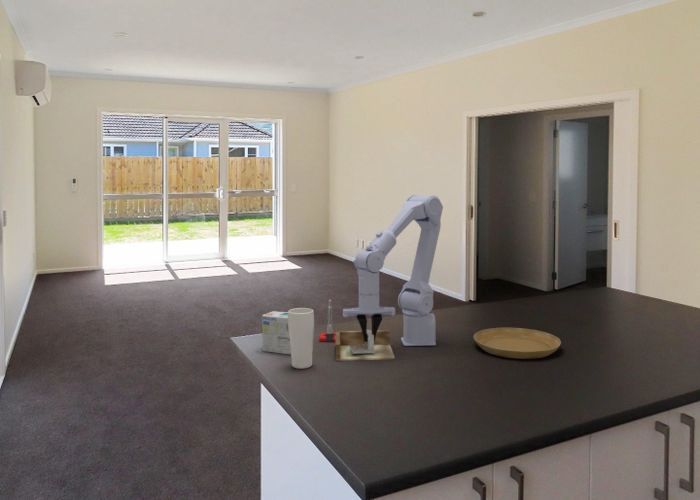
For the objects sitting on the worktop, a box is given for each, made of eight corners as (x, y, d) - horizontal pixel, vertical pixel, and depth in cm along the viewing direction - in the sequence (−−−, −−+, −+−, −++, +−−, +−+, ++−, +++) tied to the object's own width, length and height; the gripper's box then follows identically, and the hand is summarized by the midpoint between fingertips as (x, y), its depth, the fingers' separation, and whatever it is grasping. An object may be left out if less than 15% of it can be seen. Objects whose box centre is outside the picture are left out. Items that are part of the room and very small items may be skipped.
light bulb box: (305, 349, 167) (305, 313, 166) (294, 355, 161) (293, 318, 160) (274, 345, 172) (273, 310, 170) (262, 351, 165) (260, 314, 164)
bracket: (374, 352, 159) (373, 335, 158) (352, 353, 158) (352, 336, 157) (370, 346, 165) (370, 329, 165) (349, 347, 165) (349, 330, 164)
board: (389, 345, 170) (389, 343, 170) (394, 359, 156) (394, 357, 156) (335, 346, 170) (335, 344, 170) (336, 360, 156) (336, 358, 156)
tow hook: (322, 335, 184) (315, 341, 175) (321, 295, 183) (315, 300, 174) (347, 336, 183) (343, 343, 173) (347, 296, 182) (343, 300, 173)
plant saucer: (567, 364, 151) (567, 352, 151) (473, 359, 156) (474, 348, 156) (553, 339, 175) (554, 329, 174) (473, 336, 179) (473, 326, 179)
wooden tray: (389, 343, 170) (389, 330, 170) (394, 357, 156) (394, 343, 156) (335, 344, 170) (335, 331, 169) (336, 358, 156) (335, 344, 155)
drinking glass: (318, 363, 154) (317, 308, 152) (308, 371, 147) (307, 314, 146) (295, 361, 156) (294, 307, 154) (284, 368, 149) (283, 312, 148)
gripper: (391, 289, 165) (392, 336, 166) (341, 291, 163) (342, 338, 165) (396, 294, 158) (396, 342, 159) (344, 296, 156) (344, 344, 158)
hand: (369, 340), depth 162 cm, fingers closed on bracket
